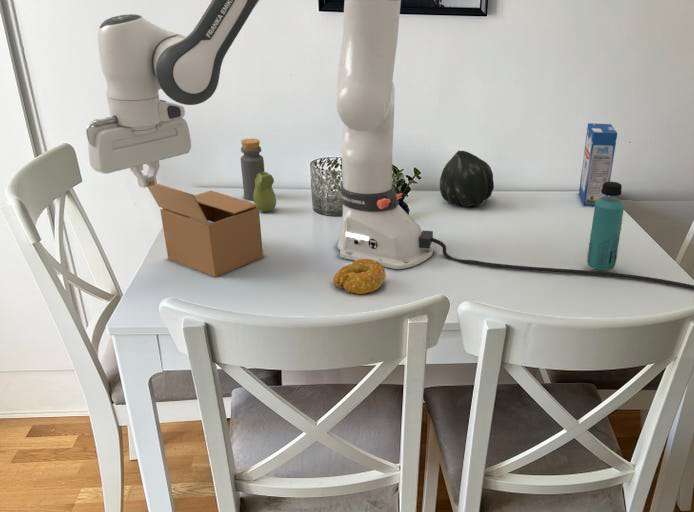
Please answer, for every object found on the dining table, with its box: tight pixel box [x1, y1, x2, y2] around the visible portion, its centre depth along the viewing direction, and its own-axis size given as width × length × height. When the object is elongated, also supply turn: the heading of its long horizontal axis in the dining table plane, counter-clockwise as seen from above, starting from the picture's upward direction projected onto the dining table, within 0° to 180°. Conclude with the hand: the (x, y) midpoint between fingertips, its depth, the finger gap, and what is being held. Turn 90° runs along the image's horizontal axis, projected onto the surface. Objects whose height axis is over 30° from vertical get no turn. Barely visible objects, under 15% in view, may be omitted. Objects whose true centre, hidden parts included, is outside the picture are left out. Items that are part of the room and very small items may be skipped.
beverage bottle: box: [586, 181, 625, 271], centre depth 162 cm, size 6×7×20 cm
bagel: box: [332, 259, 387, 295], centre depth 154 cm, size 10×11×5 cm
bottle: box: [240, 138, 266, 201], centre depth 196 cm, size 6×6×15 cm
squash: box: [439, 150, 495, 208], centre depth 200 cm, size 14×15×15 cm
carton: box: [159, 190, 264, 278], centre depth 161 cm, size 15×14×12 cm
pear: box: [253, 171, 277, 213], centre depth 189 cm, size 6×5×10 cm
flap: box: [147, 183, 208, 223], centre depth 151 cm, size 15×7×1 cm
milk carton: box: [578, 122, 618, 208], centre depth 204 cm, size 10×6×20 cm, turn 179°
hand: (148, 185), depth 144 cm, fingers closed
